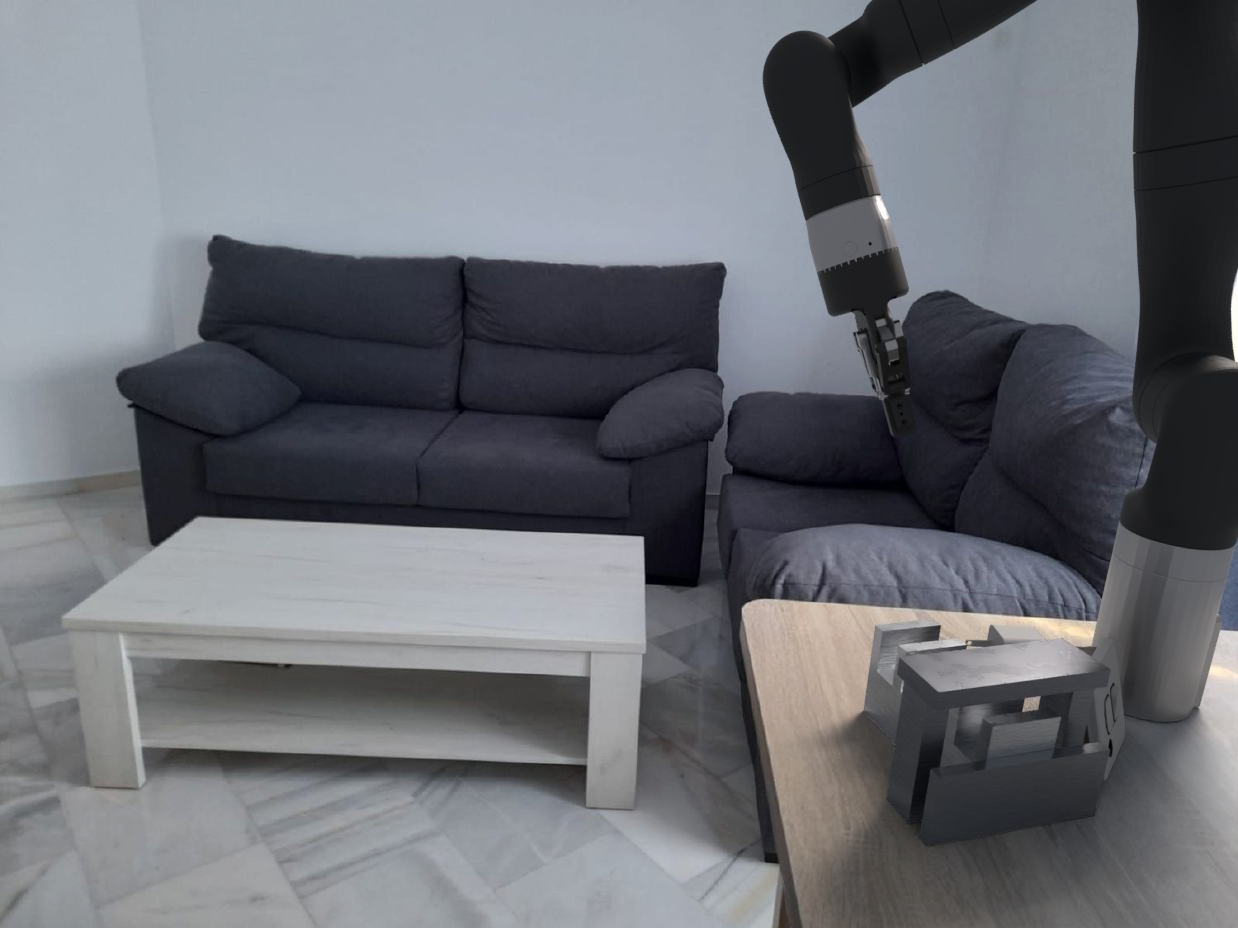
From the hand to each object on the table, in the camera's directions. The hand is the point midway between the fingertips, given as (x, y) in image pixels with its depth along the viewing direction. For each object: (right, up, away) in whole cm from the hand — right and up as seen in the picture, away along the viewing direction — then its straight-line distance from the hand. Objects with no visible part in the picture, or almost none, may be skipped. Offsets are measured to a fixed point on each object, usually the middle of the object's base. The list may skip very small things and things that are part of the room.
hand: (904, 435), depth 83 cm
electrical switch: (+13, -28, -6) cm, 32 cm away
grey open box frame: (+2, -29, -13) cm, 32 cm away
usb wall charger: (+12, -24, +7) cm, 28 cm away
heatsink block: (+1, -28, -8) cm, 29 cm away
